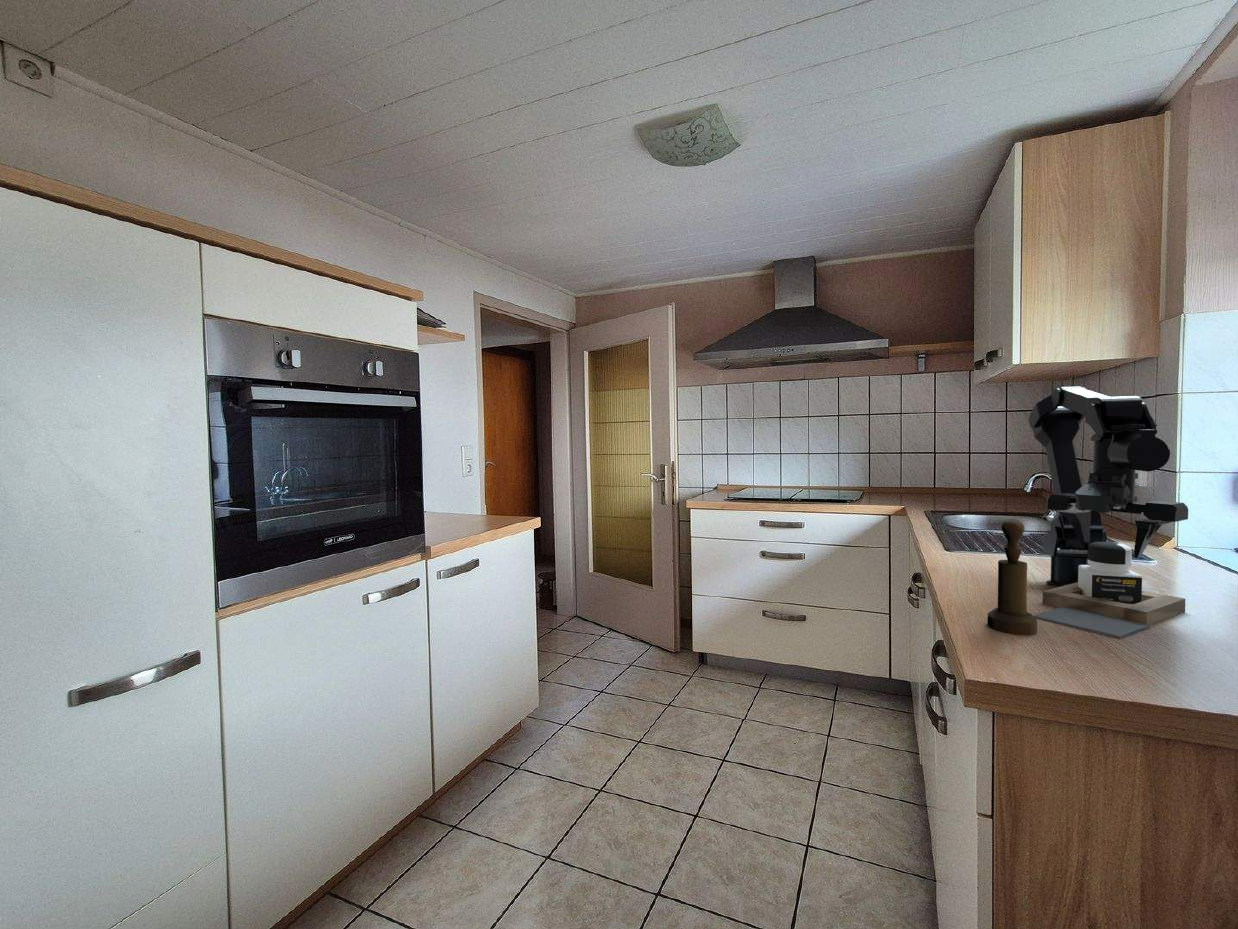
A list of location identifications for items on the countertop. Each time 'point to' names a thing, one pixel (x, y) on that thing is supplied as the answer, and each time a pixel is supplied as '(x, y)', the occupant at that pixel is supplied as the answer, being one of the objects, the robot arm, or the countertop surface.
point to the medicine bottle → (1110, 574)
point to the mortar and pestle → (1012, 588)
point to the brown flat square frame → (1117, 605)
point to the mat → (1092, 622)
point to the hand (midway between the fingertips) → (1110, 554)
